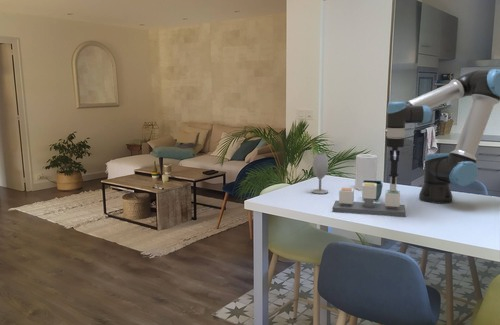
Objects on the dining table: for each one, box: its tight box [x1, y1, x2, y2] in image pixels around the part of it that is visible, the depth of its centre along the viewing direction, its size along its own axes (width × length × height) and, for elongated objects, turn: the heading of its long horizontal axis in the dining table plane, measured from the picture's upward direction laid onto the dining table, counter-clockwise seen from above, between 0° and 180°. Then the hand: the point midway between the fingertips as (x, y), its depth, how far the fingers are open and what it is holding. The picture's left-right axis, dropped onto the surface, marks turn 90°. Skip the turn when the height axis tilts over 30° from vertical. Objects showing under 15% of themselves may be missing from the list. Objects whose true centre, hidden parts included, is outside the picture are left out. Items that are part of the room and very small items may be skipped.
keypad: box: [331, 198, 407, 218], centre depth 193 cm, size 31×13×7 cm, turn 73°
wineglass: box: [311, 152, 329, 195], centre depth 227 cm, size 9×9×21 cm
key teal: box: [384, 189, 401, 207], centre depth 190 cm, size 6×6×6 cm
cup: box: [354, 153, 378, 191], centre depth 235 cm, size 11×11×18 cm
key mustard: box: [361, 182, 377, 199], centre depth 192 cm, size 6×6×6 cm
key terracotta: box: [338, 187, 355, 204], centre depth 196 cm, size 6×6×6 cm
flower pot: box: [363, 180, 383, 202], centre depth 212 cm, size 9×9×9 cm
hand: (392, 190), depth 189 cm, fingers closed
